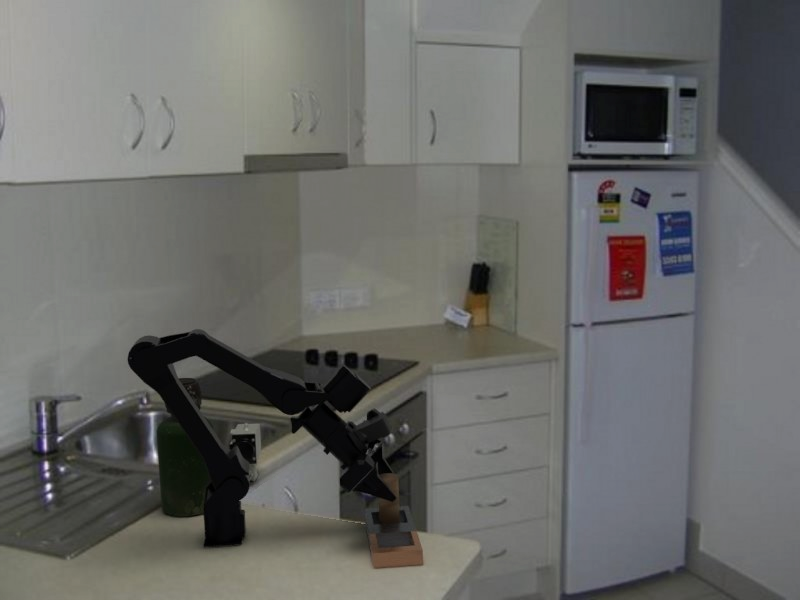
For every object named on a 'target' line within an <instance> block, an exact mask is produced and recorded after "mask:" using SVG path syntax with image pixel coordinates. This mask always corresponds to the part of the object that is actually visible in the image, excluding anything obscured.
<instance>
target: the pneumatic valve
mask: <svg viewBox="0 0 800 600" xmlns="http://www.w3.org/2000/svg"><path fill="white" fill-rule="evenodd" d="M261 432H262V431H261V422H250V423H249V422H241V423H237V425H236V427H235V428H234V429H233V428H231V430H230V432H229V433H230V434H229V435H230V436H231V441H230V443H229V446H228V447H229V449H230V450H232V449H233V448H234V447H235V446H238V448H239V450H240V453H241V455H242V457H243V458H244V459H245V460H247V461H248V462H249V482H256V481H257V479H258V476H259V473H258V460H259V458H260V455H261V453H262V436H261V435H262V433H261Z"/></svg>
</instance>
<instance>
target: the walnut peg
mask: <svg viewBox="0 0 800 600" xmlns="http://www.w3.org/2000/svg"><path fill="white" fill-rule="evenodd" d="M380 476H381V478H382V479H383V480H384V481H385V483H386V484H387V485H388V486H389V488H390V489H391V490H392V491H393V493H394V494H395V495H396V499H395V500H394V501H393V502H391V501H388V500H384V499H381V498H378V508H379V524H393V523H400V518H399V506H400V491H399V485H400V483H398V480H399V475H398V474H396V473H394V474H393V473H385V474H381V475H380Z"/></svg>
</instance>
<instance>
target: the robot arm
mask: <svg viewBox="0 0 800 600" xmlns="http://www.w3.org/2000/svg"><path fill="white" fill-rule="evenodd" d="M192 357H198V358H199V359H202V360H203V361H205V362H206V363H208V364H211V365H212V366H214V367H216V368H218V369H219V370H221V371H223V372H225V373H227V374H228V375H230V376H232V377H234V378H236V379H237V380H239V381H240V382H242V383H244V384H246V385H248V386H250V387H251V388H253V389H255V390H256V391H257V392H258V393H259V394H261V396H263V398H265V399H266V400H267V401H268V403H270V404H272V406H274V407H275V408H276V409H277V410H278V411H280V412H281V413H283V415H287V416H291V417H290V418H289V420H290V424H291V434H294V435H295V434H296V433H297V432H298V431H299V430H300V429H301V427H302V428H303V429H304V430H305V431H306V432H307V433H308V434H309V435H311V436H312V437H313V438H314V439H315V440H316V441H317V442H318V443H319V444H320V445H321V446H323V453H325V454H326V455H329V454H331V455H332V456H333V457H334V458H335V459H337V460H338V462H340V463H341V465H340V469H342V471H341V474H340V477H339V486H340V487H341V488H342V489H343V490H344V491H345V492H346V493H348V494H349V493H350V492H351V491H352V492H358V493H362V494H366V495H369V496H373V497H376V498H378V499H379V498H381V499H384V500H388V501H391V502H393V501H394V500H395V499H396V495H395V494H394V493H393V491H392V490H391V489H390V488H389V486H388V485H387V484H386V483H385V481H384V480H383V479H382V478H381V476H380V475H381V474H385V473H393V474H395V472H394V471H393V469H392V467H391V465H389V463H388V461H387V459H386V458H385V455H384V442H382V441H383V439H384V438H386V437H388V436H390V434H391V433H392V432H391V430H392V429H393V428H392V426H391V423H390V421H389V419H388V417H389V416H388V415H387V414H385V412H384V411H381V412H380V411H379V410H377V409H376V408H372V409H370V410H368V411H367V413H366V420H363V421H362V422H361V423H359V424H355V423H354V422H353V421H350V420H348V421H345V420H344V419H343V418H342V417H341V416H340V415H339V414H338V413H336V411H338V412H339V413H340V414H342V413H344V414H346V413H347V412H348V413H351V412H352V411H353V410H354V409H355V408H356V406H358V404H359V403H361V401H362V400H364V399H365V397H366V396H367V395H368V394H369V393H370V392H371V391H372V387H370V385H369V384H368V383H367V382H366V381H365V380H364V379H363V378H362V377H361V376H359V374H357V372H353V370H351V369H350V368H348V367H347V366H346V365H345V364H343V363H342V364H340V365H339V367H338V368H337V369H336V371H335V372H334V373H333V374H332V375H331V377H330V378H328V380H327V381H326V382H325V383H324V384H323V383H322V382H312V381H304V380H303V379H302V378H300V377H299V376H297V375H294V374H290V373H288V372H285V371H282V370H279V369H274V368H269V367H267V366H264V365H263V364H261V363H260V362H257V361H256V360H254V359H252V358H250V357H249V356H247V355H245V354H244V353H241V352H240V351H238V350H236V349H234V348H232V347H230V346H229V345H227V344H225V343H224V342H222V341H220V340H218V339H217V338H215V337H213V336H211V335H210V334H209V333H208V332H206V331H205V330H204V329H200V328H195V329H193V330H190V331H186V332H181V333H176V334H175V333H174V334H170V335H166V336H165V335H164V336H162V337H158V336H156V335H155V336H154V335H144V336H142V337H139V338H138V339H137V340H136V341H135V342H134V344H133V345H132V347H130V349H129V351H128V355H127V364H128V366H129V368H130V370H132V372H133V373H134V374H135V375H136V376H137V377H138V378H139V379H140V380H141V382H143V383H144V384H145V385H147V386H148V387H150V388H151V389H152V390H153V391H154V392H156V393H157V394H158V396H160V398H161V399H162V401H163V402H164V405H165V404H166V405H167V407H168V408H169V410H170V411H171V413H172V414H173V416H174V417H175V419H176V420H177V422H178V423H179V424H180V426H181V427H182V429H183V430H184V432H185V433H186V435H187V436H188V438H189V439H190V441H191V442H192V443H193V445H194V446H195V448H196V449H197V451H198V452H199V454H200V455H201V457H202V458H203V460H204V462H205V465H206V468H207V471H208V474H209V477H210V479H211V483H210V484H209V485H208V486H207V487H206V492H205V499H204V509H203V512H204V513H203V524H204V525H203V526H204V541H203V547H205V548H211V547H212V548H213V547H227V546H239V545H242V544H243V541H244V538H245V537H246V533H247V525H246V524H247V523H246V510H245V509H243V508H242V501H241V500H243V499H244V498H245V497H246V496H247V495H248V493H249V490H250V481H249V462H248V461H247V460H245V459H244V458H243V457H242V455H241V453H240V450H239V448H238V446H235V447H234V448H233V449H232V450H230V447H228V446H226V445H225V444H224V443H223V442H222V441H221V440H220V438H219V436H218V435H217V433H216V432H215V431H214V428H213V429H212V428H211V426H210V425H209V423H208V422H207V420H206V419H205V417H206V416H205V417H204V414H203V413H202V412H201V409H200V410H199V408H198V407H197V405H196V404H195V402H194V401H193V400H192V398H191V397H190V395H189V394H188V392H187V391H186V389H185V388H184V386H183V385H182V383H181V382H180V380H179V379H178V378H179V377H178V375H177V372H176V368H175V365H174V364H176V363H177V362H180V361H183V360H186V359H189V358H192ZM326 401H327V402H328V403H329V404H330V405H331V406H332V407H333V408H334V409H335V410H336V411H334V410H333V409H332V408H331V407H330V406H329V405H328V404H327V403H326ZM313 406H314V407H313ZM295 415H297V416H295ZM376 444H379V445H378V446H377V445H376ZM398 483H399V484H400V480H399V479H398Z"/></svg>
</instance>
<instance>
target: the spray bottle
mask: <svg viewBox="0 0 800 600" xmlns="http://www.w3.org/2000/svg"><path fill="white" fill-rule="evenodd" d="M178 379H179V380H180V382H181V383H182V385H183V386H184V388H185V389H186V391H187V392H188V394H189V395H190V397H191V398H192V400H193V401H194V402H195V404H196V405H197V407H198V408H199V410H200V411H201V409H202V407H201V405H202V389H201V386H200V384H199V381H197V380H196V379H195V378H193V377H178ZM164 407H165V408H166V413H168V414H169V415H170V416H169V417H167V418H164V419H163V420H162V421H161V422H160V423H159V425H158V426H157V429H156V441H157V443H156V445H157V458H158V472H159V473H158V474H159V475H158V476H159V487H160V488H159V489H160V490H159V491H160V503H161V510H162V512H164V513H165V514H167V515H171V516H175V517H189V516H197V515H201V514H204V512H203V509H204V499H205V492H206V487H207V486H208V485H209V484H210V483H211V479H210V477H209V474H208V471H207V468H206V465H205V462H204V460H203V458H202V457H201V455H200V454H199V452H198V451H197V449H196V448H195V446H194V445H193V443H192V442H191V441H190V439H189V438H188V436H187V435H186V433H185V432H184V430H183V429H182V427H181V426H180V424H179V423H178V422H177V420H176V419H175V417H174V416H173V414H172V413H171V411H170V410H169V408H168V407H167V405H166V404H165V403H164ZM203 416H204V415H203ZM204 417H205V419H206V420H207V422H208V423H209V425H210V426H211V428H212V429H213V430H214V426H213V424H212V422H211V421H210V420H209V419H208V418H207V417H206V416H204Z"/></svg>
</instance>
